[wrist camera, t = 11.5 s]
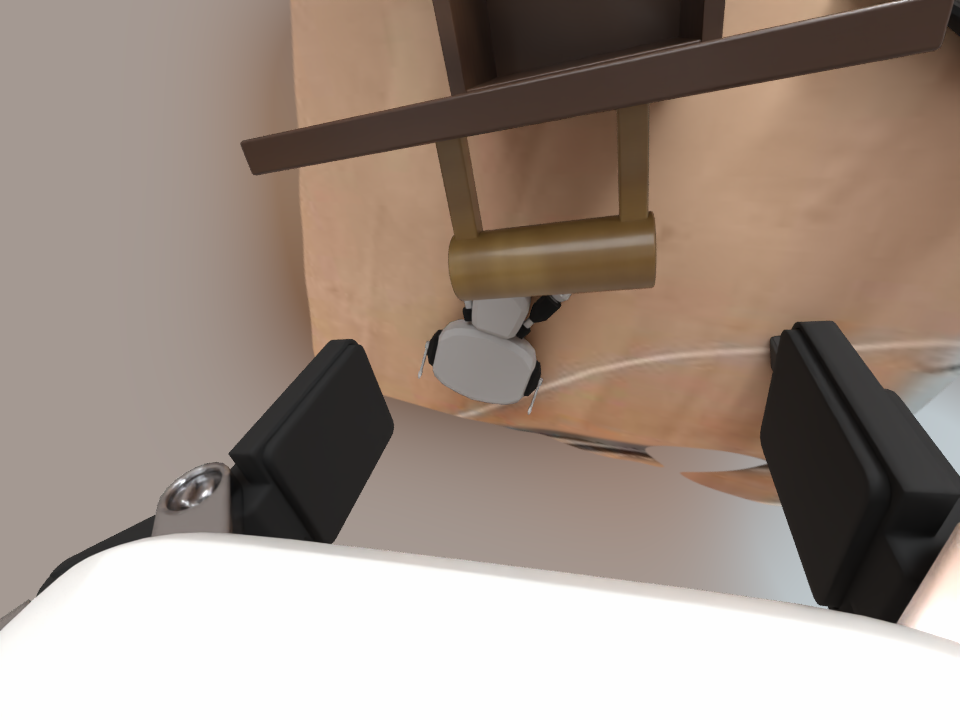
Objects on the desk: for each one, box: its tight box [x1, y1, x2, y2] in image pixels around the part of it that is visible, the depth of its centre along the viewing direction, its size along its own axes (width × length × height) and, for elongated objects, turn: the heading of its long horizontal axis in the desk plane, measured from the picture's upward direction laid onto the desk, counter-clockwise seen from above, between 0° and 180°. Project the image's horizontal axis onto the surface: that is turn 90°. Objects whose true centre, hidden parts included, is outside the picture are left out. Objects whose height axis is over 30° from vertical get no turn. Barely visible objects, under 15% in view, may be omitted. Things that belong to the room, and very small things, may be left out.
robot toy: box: [418, 294, 571, 415], centre depth 44 cm, size 12×4×15 cm
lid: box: [241, 0, 954, 301], centre depth 17 cm, size 18×14×5 cm
